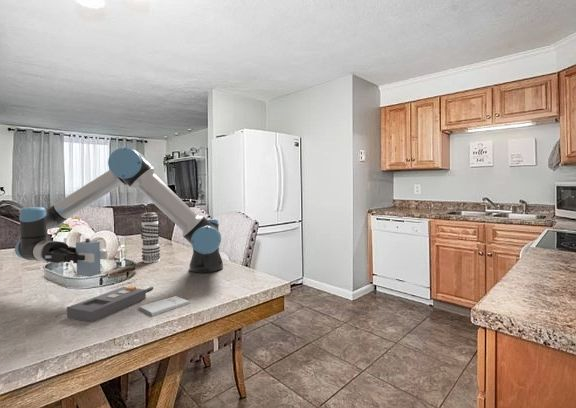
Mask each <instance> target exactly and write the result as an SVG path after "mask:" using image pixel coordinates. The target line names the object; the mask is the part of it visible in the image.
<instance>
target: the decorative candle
mask: <svg viewBox="0 0 576 408" xmlns="http://www.w3.org/2000/svg"><path fill="white" fill-rule="evenodd" d="M158 216H159V215H158V214H157V213H156V212H153V211H152V212H151V211H150V212H144V213H142V214H141V226H140V227H139V228H140V239H141V240H142V244H141V246H142V248H141V253H142V254H141V259H142V260H141V261H142V263H143V262H144V264H145V263H146V264H152V262H153V263H157V261H158V262H160V261H161V259H160V258H161V256H160V255H161V253H160V251H161V250H160V248H161V247H160V244H159V243H160V241H159V239H160V236H159V235H160V234H161V233H160V229H159V228H161V225H160V222H159V217H158Z"/></svg>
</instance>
